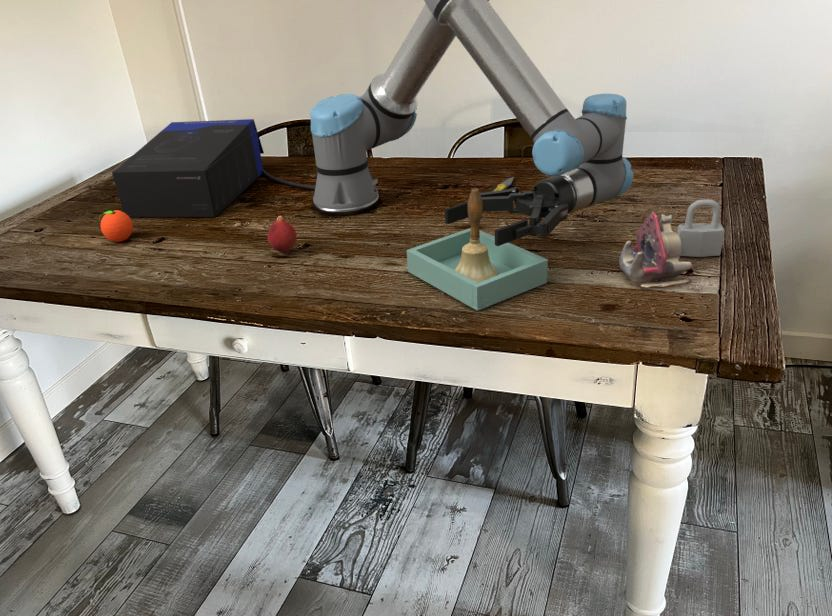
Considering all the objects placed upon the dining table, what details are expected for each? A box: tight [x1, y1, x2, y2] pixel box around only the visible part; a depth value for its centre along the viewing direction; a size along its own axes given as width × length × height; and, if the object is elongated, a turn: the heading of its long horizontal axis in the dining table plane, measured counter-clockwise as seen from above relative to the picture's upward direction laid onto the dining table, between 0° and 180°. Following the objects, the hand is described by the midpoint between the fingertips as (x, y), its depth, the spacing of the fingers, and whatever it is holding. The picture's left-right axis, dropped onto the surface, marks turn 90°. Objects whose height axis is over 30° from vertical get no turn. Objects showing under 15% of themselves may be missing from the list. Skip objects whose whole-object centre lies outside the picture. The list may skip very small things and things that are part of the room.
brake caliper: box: [618, 211, 693, 289], centre depth 126 cm, size 11×11×12 cm
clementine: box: [98, 209, 134, 243], centre depth 166 cm, size 8×7×7 cm
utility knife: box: [488, 176, 515, 192], centre depth 170 cm, size 16×1×3 cm
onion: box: [267, 215, 298, 255], centre depth 150 cm, size 6×6×8 cm
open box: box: [406, 227, 549, 312], centre depth 133 cm, size 20×15×4 cm
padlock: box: [676, 198, 725, 258], centre depth 130 cm, size 7×4×10 cm, turn 78°
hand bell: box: [454, 187, 499, 283], centre depth 130 cm, size 8×8×16 cm
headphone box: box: [111, 118, 265, 218], centre depth 188 cm, size 25×35×14 cm
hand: (470, 227), depth 128 cm, fingers open, 13 cm apart
